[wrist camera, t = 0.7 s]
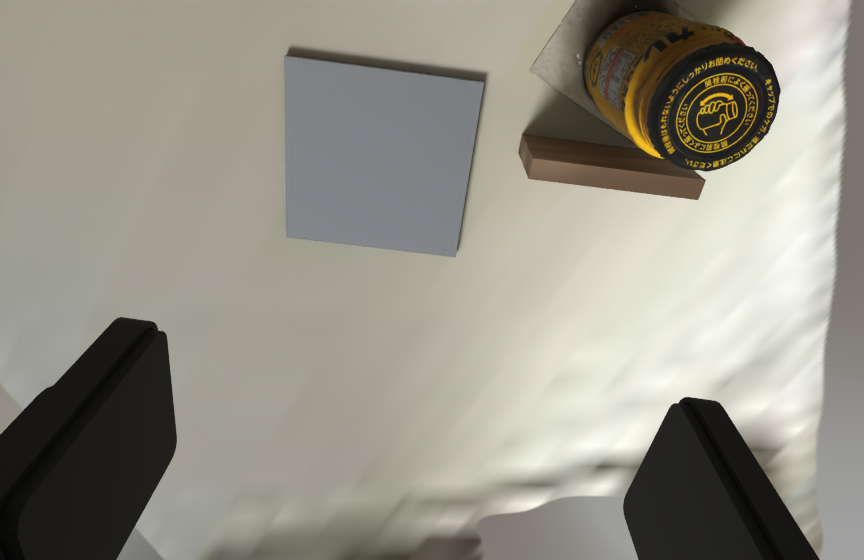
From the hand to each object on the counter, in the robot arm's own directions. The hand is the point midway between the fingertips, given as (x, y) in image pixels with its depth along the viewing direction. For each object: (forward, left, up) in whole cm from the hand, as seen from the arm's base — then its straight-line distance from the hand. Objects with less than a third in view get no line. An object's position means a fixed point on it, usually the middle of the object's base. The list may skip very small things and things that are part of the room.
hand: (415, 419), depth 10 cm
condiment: (-4, +11, -28) cm, 30 cm away
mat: (+4, -3, -28) cm, 28 cm away
